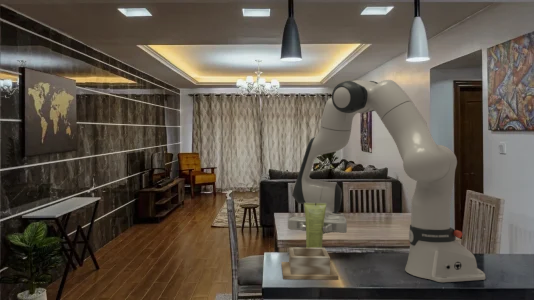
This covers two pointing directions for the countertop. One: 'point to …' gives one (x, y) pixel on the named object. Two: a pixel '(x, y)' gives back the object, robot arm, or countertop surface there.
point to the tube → (314, 224)
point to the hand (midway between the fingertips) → (314, 229)
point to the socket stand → (308, 264)
